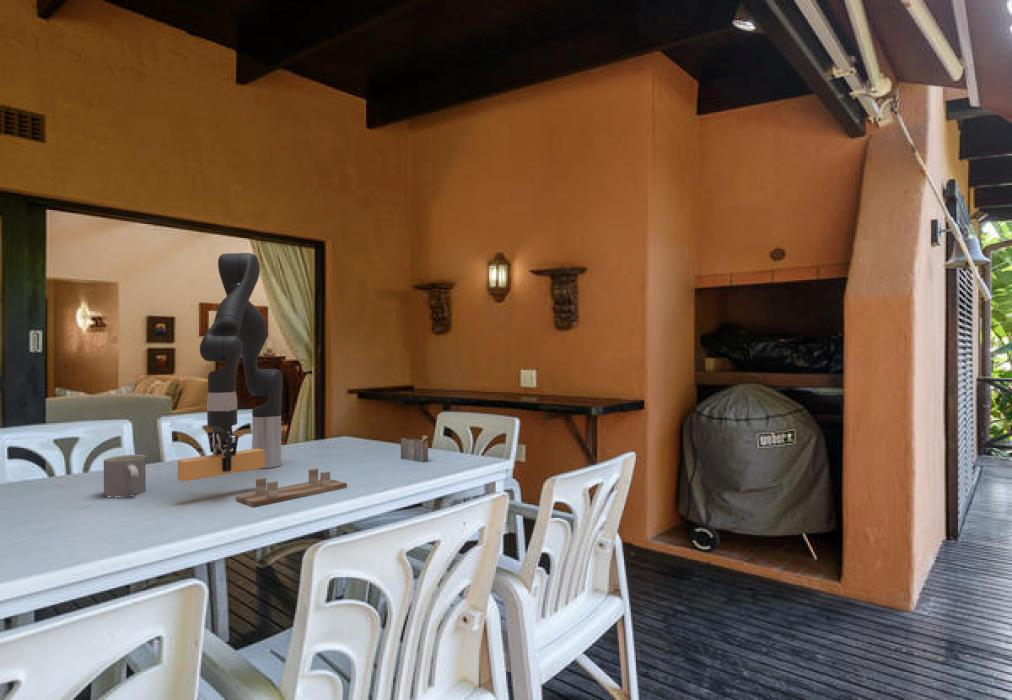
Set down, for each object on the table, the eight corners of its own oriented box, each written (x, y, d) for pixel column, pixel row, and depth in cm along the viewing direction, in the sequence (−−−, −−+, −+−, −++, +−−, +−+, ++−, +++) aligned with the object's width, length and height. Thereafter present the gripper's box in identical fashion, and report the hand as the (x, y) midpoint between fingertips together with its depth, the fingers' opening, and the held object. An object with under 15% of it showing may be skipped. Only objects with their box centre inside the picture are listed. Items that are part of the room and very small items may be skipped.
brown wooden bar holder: (236, 500, 162) (235, 481, 162) (327, 482, 183) (327, 465, 183) (254, 507, 155) (253, 487, 155) (347, 487, 176) (346, 469, 176)
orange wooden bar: (177, 479, 160) (177, 460, 160) (258, 465, 177) (258, 448, 177) (183, 481, 158) (183, 462, 157) (264, 467, 174) (264, 450, 174)
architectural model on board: (429, 462, 215) (428, 435, 215) (422, 463, 213) (422, 436, 213) (406, 458, 222) (406, 432, 222) (400, 459, 220) (400, 433, 220)
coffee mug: (102, 492, 171) (102, 457, 171) (143, 487, 177) (142, 453, 177) (106, 502, 160) (106, 464, 160) (149, 496, 166) (149, 460, 166)
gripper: (197, 407, 168) (198, 468, 169) (220, 411, 159) (220, 476, 160) (224, 405, 174) (225, 464, 175) (247, 409, 165) (248, 471, 165)
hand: (223, 469), depth 167 cm, fingers closed on orange wooden bar, 4 cm apart
